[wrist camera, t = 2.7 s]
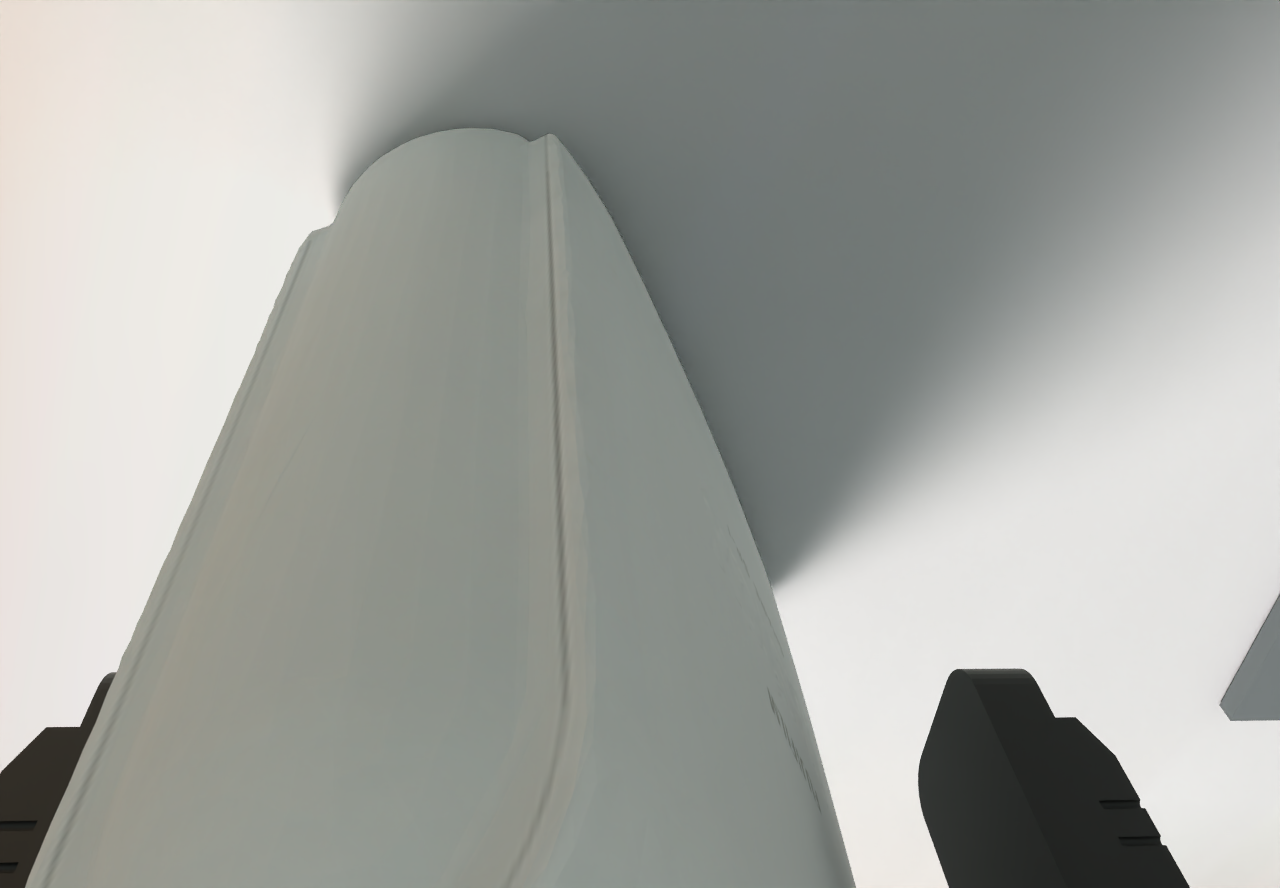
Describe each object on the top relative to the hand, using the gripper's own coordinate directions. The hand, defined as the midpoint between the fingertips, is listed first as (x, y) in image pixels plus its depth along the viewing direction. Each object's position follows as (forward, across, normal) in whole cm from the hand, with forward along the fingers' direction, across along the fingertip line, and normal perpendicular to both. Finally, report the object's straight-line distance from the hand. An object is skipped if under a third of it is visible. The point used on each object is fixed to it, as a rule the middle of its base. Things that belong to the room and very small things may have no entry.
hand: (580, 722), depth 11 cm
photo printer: (+6, 0, 0) cm, 6 cm away
